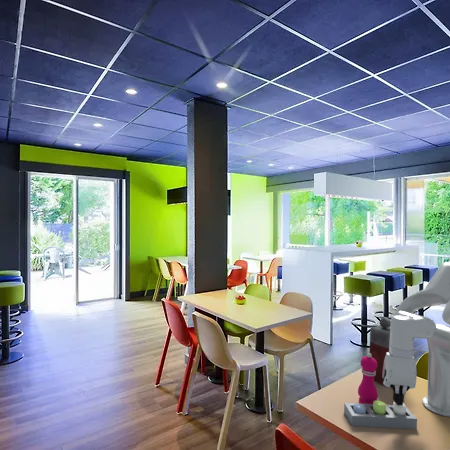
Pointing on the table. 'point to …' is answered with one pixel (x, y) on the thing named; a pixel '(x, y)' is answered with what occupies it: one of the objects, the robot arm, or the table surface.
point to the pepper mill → (368, 381)
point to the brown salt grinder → (380, 346)
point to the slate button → (359, 409)
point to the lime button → (379, 407)
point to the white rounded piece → (399, 409)
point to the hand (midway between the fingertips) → (398, 403)
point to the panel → (380, 417)
